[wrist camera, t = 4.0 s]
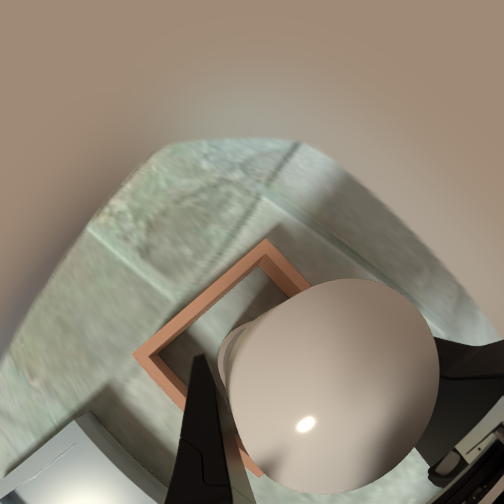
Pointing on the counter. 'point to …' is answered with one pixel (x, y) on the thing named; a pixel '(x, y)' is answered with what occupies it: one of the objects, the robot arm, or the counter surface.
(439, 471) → the electric trimmer
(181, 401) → the socket ring
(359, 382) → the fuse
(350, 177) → the counter surface
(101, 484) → the parts tray
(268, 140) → the counter surface
